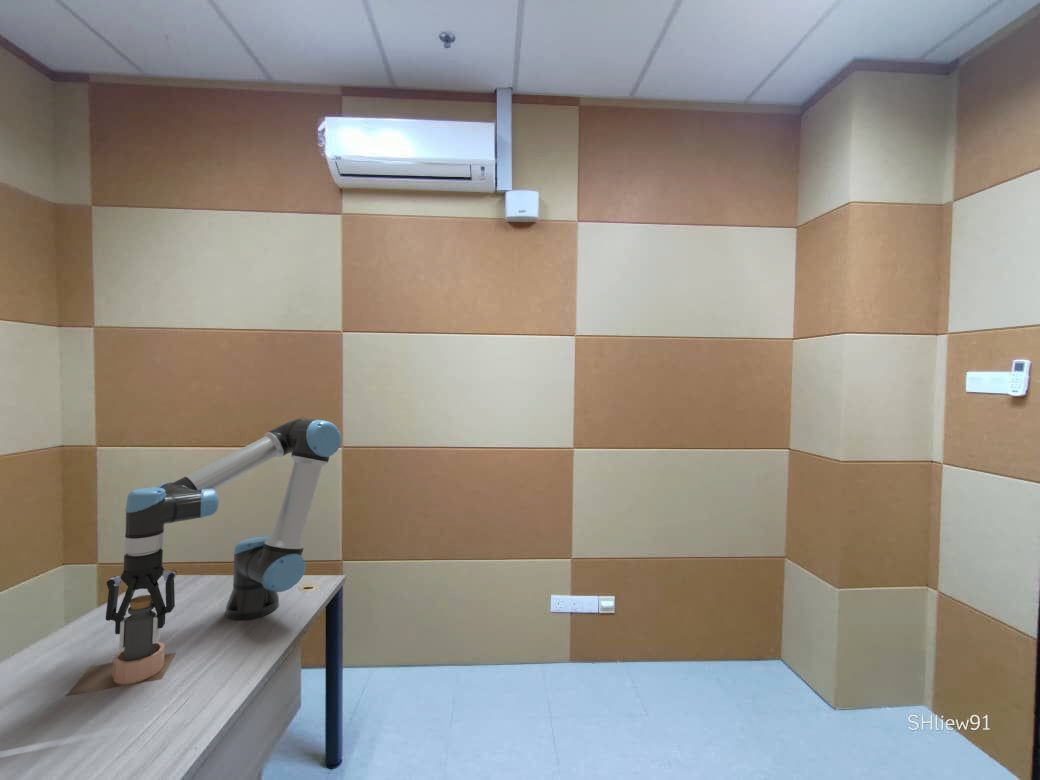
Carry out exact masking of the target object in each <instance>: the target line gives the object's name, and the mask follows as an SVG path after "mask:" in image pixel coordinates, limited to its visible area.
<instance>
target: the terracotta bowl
mask: <svg viewBox="0 0 1040 780" xmlns="http://www.w3.org/2000/svg"><path fill="white" fill-rule="evenodd" d="M165 652H166V645H165V644H164V643H163V642H162V641H157V643H155V648H154V654H152V655H151V656H149V657H146V658H143V659H140V660H135V661H129V662H126V661H124V649H123V650H121V651H118V652H117V653H116V654H115V656H114V657H112V663H113V675H112V677H113V681H114V683H116V684H120V685H126V686H128V685H127V684H131V685H134V684H133V683H137V682H141V681H144V680H146V679H148V678H151V677H152V676H154V675H156V674H157V673H159V672H160V671H161V670H162V668H163V664H164V658H165V654H166V653H165ZM137 684H138V683H137Z"/></svg>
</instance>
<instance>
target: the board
mask: <svg viewBox="0 0 1040 780" xmlns="http://www.w3.org/2000/svg"><path fill="white" fill-rule="evenodd" d="M176 655H177V652H172V653H165V658H164V664H163V668H162V670H161V671H160V672H159V673H157V674H156V675H154V676H152V677H151V678H148V679H146V680H144V681H141V682H137V683H133V684H127V685H120V684H116V683H114V681H113V677H112V675H113V662H110V663H105V664H98V665H93V666H90V667H89V668H88V669H87V670H86V672H84V673H83V675H82V676H81V677H80V678H79V679H78V681H77V682H76V683H75V684H74V686H72V688H71V689H70V690H69V691H68V692H67V694H65V697H69V696H71V697H72V696H74V695H81V694H82V695H83V694H86V693H92V692H93V693H94V692H98V691H103V690H108V689H113V688H120V687H125V686H131V685H136V684H141V683H146V682H153V681H157V680H162V679H163V678H164V676H165V673H166V672H167V671H168V669H169V667H170V665H171V663H172V662H173V660H174V658H175V656H176Z"/></svg>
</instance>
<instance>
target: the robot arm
mask: <svg viewBox="0 0 1040 780" xmlns="http://www.w3.org/2000/svg"><path fill="white" fill-rule="evenodd" d="M341 443H342V436H341V431H339V428H338V427H337V426H336V425H335V424H334V423H332V422H331V421H327V420H323V419H313V418H312V419H311V418H295V419H293V420H290V421H288V422H285V423H283V424H281V425H279V426H277V427H275V428H273V429H271V430H268V431H266V432H264V435H263V437H262V438H259V439H258V440H255V441H253V442H252V443H250V444H248V445H245V446H244V447H242V448H240V449H238V450H235V451H234V452H232V453H230V454H227V455H226V456H223V457H221V458H220V459H217V460H216V461H214V462H212V463H210V464H207V465H206V466H204V467H201V468H200V469H198V470H196V471H194V472H191V473H189V474H188V475H185V476H184V477H181V478H180V479H176V481H173V482H172V481H171V482H163V483H160V484H158V485H157V486H155V487H145V488H144V487H142V488H138V489H135V490H131V491H130V492H129V493H128V494H127V496H126V497H127V498H126V506H125V510H124V511H125V533H124V534H125V536H124V549H123V550H124V551H123V553H125V554H124V556H123V571H122V573H121V575H118V576H112V577H111V578H109V579H108V580H107V581H106V586H107V589H108V593H107V601H106V610H105V611H106V612H105V621H106V622H107V621H109V622H110V621H114V623H115V626H114V634H115V635H119V648H118V649H119V650H121V649H124V646H125V624H126V619H127V618H128V617H129V616H126V615H127V614H126V613H128V608H129V607H130V603H129V601H130V600H131V599H133V598H134V595H135V592H136V591H138V590H141V589H142V590H147V591H148V593H149V595H150V596H151V598H152V601H153V604H154V611H155V613H156V615H155V617H154V618H153V640H152V644H155V643H157V642H159V640H160V638H161V629H163V627H164V626H165V624H166V614H168V613H169V614H170V613H171V612H172V611H174V608H175V606H176V603H175V602H176V601H175V578H176V575H177V574H178V573H177V572H178V571H177V570H172V571H170V570H169V571H168V570H165V568H164V567H163V559H164V558H163V554H164V553H163V552H164V550H163V549H162V548H163V547H164V536H165V535H164V532H165V525H167V524H172V523H177V522H183V521H189V520H195V519H196V520H197V519H203V518H205V517H206V518H207V517H209V516H213V515H214V514H216V512H217V511H218V508H219V495H218V493H217V491H216V489H218V488H220V487H221V486H223V485H226V484H227V483H229V482H231V481H233V480H235V479H237V478H239V477H240V476H242V475H244V474H246V473H249V471H252V470H253V469H256V468H258V467H259V466H261V465H263V464H264V463H266V462H268V461H270V460H272V459H274V458H276V457H277V458H282V457H284V456H286V455H288V454H291V455H290V457H291V458H292V460H293V465H292V469H291V472H290V476H289V479H288V482H287V484H286V488H285V492H284V495H283V497H282V498H283V499H282V500H281V504H280V509H279V512H278V514H277V515H278V516H277V519H276V523H275V525H274V528H273V531H272V535H270V536H269V535H266V536H257V537H251V538H247V539H244V540H240V541H239V542H237V543H236V545H235V546H234V552H233V577H232V578H233V582H232V583H233V584H232V586H233V587H232V591H231V592H230V595H229V598H228V601H227V603H226V607H225V616H226V617H227V618H228V619H231V620H234V621H235V620H237V621H243V620H244V621H245V620H252V619H257V618H260V617H264V616H266V615H268V613H269V614H271V613H272V612H274V611H275V610H277V608H278V607H279V605H280V597H279V594H278V593H281V592H286V591H289V590H290V589H292V588H293V587H294V586H295V585H297V584H298V583H299V582H300V581H301V580H302V578H303V576H304V575H305V572H306V566H307V565H306V561H305V558H304V557H303V551H304V549H305V546H304V544H303V542H302V538H303V534H304V530H305V527H306V523H307V520H308V515H309V512H310V509H311V506H312V503H313V498H314V496H315V493H316V488H317V485H318V481H319V478H320V474H321V471H322V467H324V466H326V465H327V464H328V463H329V460H330V457H331V456H333V455H334V454H335V453H337V452H338V451H339V449H340V446H341ZM161 577H163V580H164V581H165V601H164V598H163V596H162V593H161V591H160V587H159V586H160V585H159V580H160V578H161ZM121 582H123V583H124V584H125V585H126V586H127V588H126V591H125V593H124V596H123V599H122V602H121V603H120V606H119V609H117V608H118V600H119V592H120V585H121V584H122V583H121ZM273 610H274V611H273ZM270 612H271V613H270ZM263 615H264V616H263Z"/></svg>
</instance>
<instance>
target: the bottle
mask: <svg viewBox="0 0 1040 780" xmlns="http://www.w3.org/2000/svg"><path fill="white" fill-rule="evenodd" d="M129 603H130V604H129V607H128V609H127V614H129V616H127V617H128V618H127V619H126V624H125V646H124V648H123V650H124V661H126V662H129V661H135V660H140V659H143V658H146V657H149V656H151V655H152V654H154V648H155V644H152V640H153V618H154V617H155V615H156V614H157V613H156V611H155V610H153V609H155V607H154V604H153V601H152V598H151V596H150V594H142V595H139V596H136V597H132V599H131V600H130V601H129Z"/></svg>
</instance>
